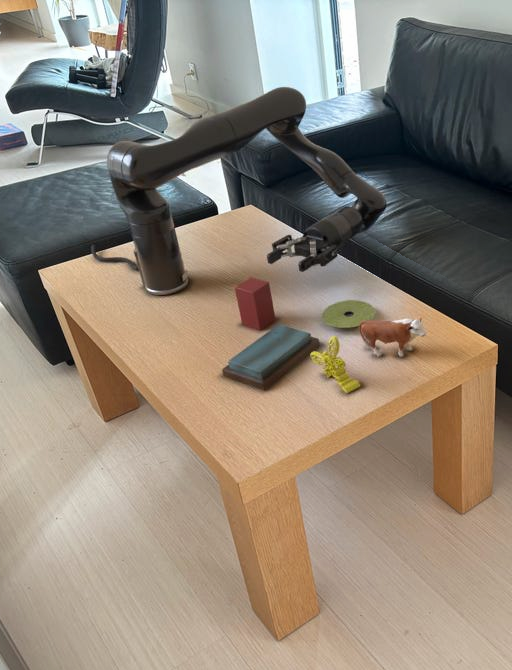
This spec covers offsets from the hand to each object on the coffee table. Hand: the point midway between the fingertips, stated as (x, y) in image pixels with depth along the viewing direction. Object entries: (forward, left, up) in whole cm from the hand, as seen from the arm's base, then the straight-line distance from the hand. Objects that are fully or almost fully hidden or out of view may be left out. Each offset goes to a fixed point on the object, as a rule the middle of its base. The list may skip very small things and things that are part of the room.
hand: (284, 263), depth 158 cm
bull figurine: (+32, -7, -9) cm, 34 cm away
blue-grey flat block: (+12, -20, -9) cm, 25 cm away
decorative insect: (+26, -19, -9) cm, 34 cm away
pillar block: (0, -10, -9) cm, 14 cm away
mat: (+17, -1, -9) cm, 19 cm away
